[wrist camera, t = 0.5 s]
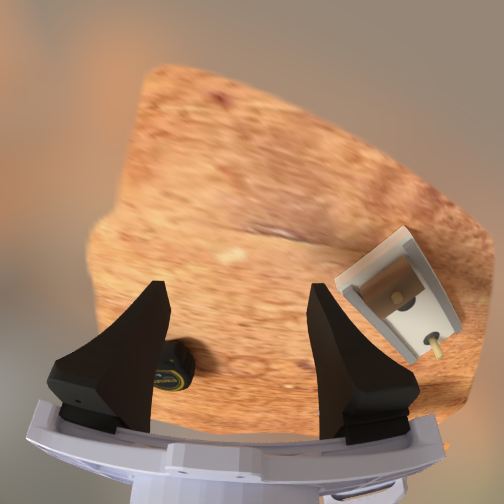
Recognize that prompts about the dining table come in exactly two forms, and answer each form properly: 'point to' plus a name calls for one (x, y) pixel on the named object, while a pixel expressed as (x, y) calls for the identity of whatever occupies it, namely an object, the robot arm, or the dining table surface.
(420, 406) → the dining table surface
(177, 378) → the tape measure
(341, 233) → the dining table surface
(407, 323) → the plate
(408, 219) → the dining table surface
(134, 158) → the dining table surface
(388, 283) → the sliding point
